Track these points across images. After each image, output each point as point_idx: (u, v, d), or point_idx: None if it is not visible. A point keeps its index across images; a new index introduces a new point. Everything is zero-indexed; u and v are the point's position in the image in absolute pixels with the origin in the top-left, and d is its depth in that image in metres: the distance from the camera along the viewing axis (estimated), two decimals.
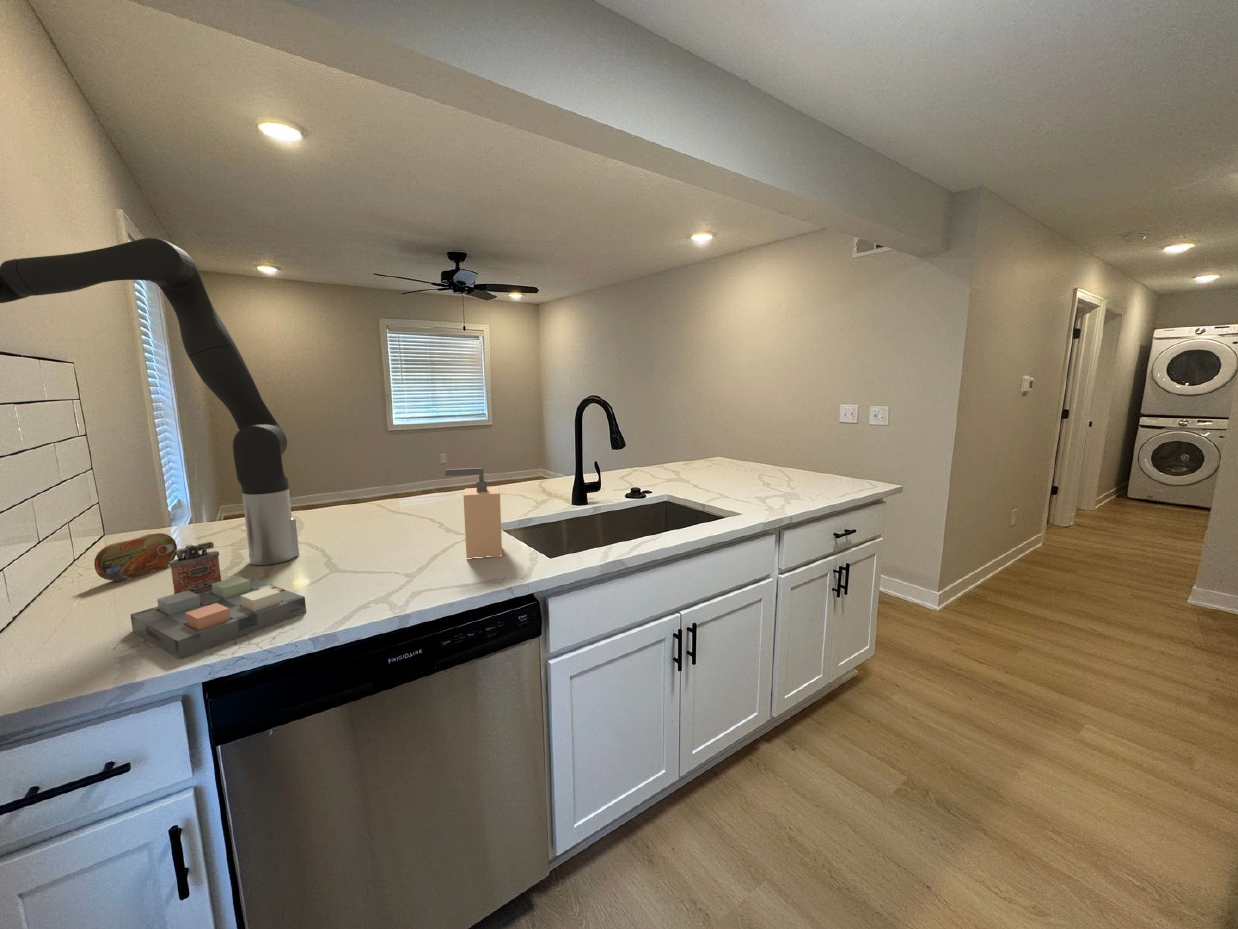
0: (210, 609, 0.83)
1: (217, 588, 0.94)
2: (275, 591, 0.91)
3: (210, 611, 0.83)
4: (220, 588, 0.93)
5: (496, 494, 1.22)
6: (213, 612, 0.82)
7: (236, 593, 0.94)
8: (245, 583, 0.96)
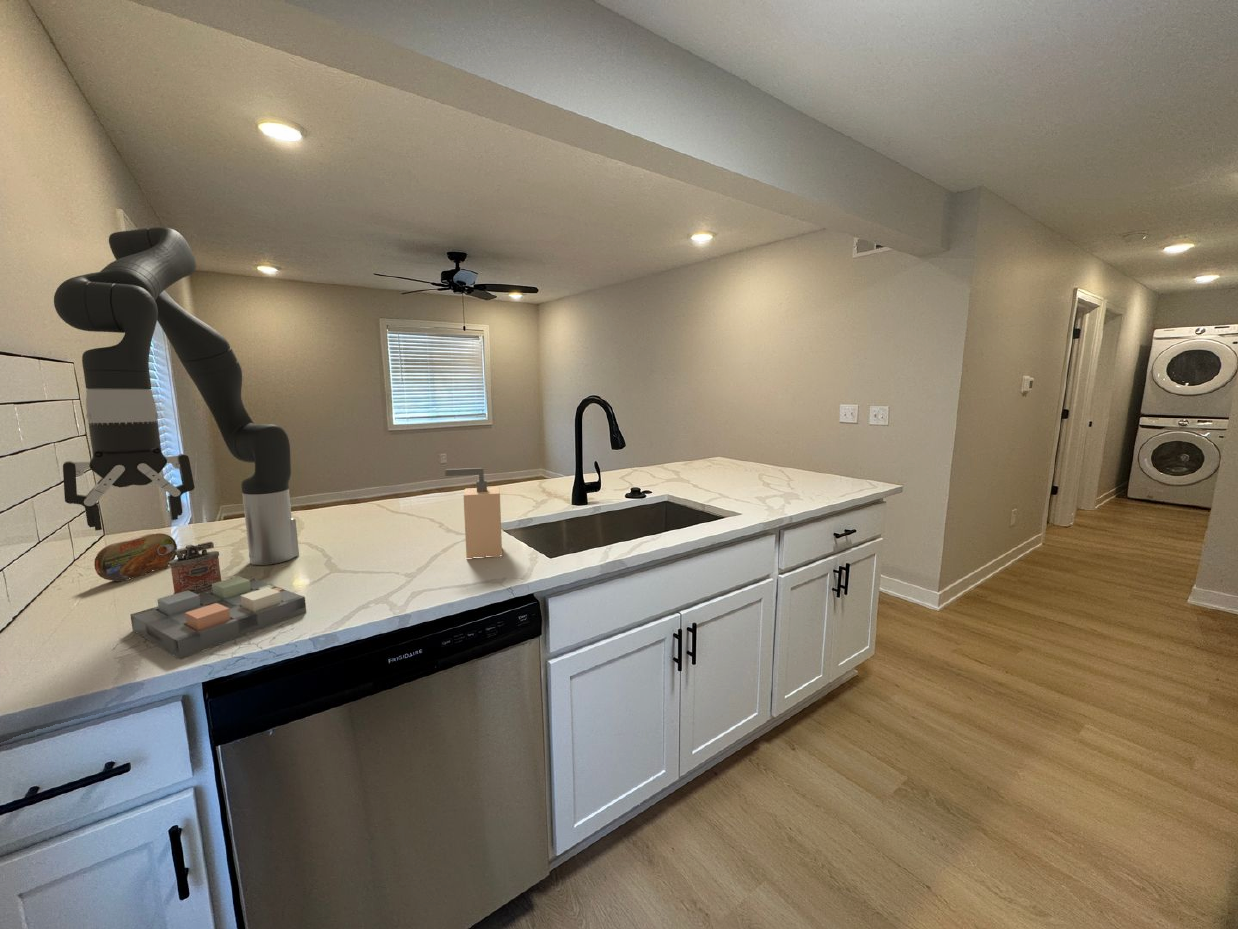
0: (210, 609, 0.83)
1: (217, 588, 0.94)
2: (275, 591, 0.91)
3: (210, 611, 0.83)
4: (220, 588, 0.93)
5: (496, 494, 1.22)
6: (213, 612, 0.82)
7: (236, 593, 0.94)
8: (245, 583, 0.96)
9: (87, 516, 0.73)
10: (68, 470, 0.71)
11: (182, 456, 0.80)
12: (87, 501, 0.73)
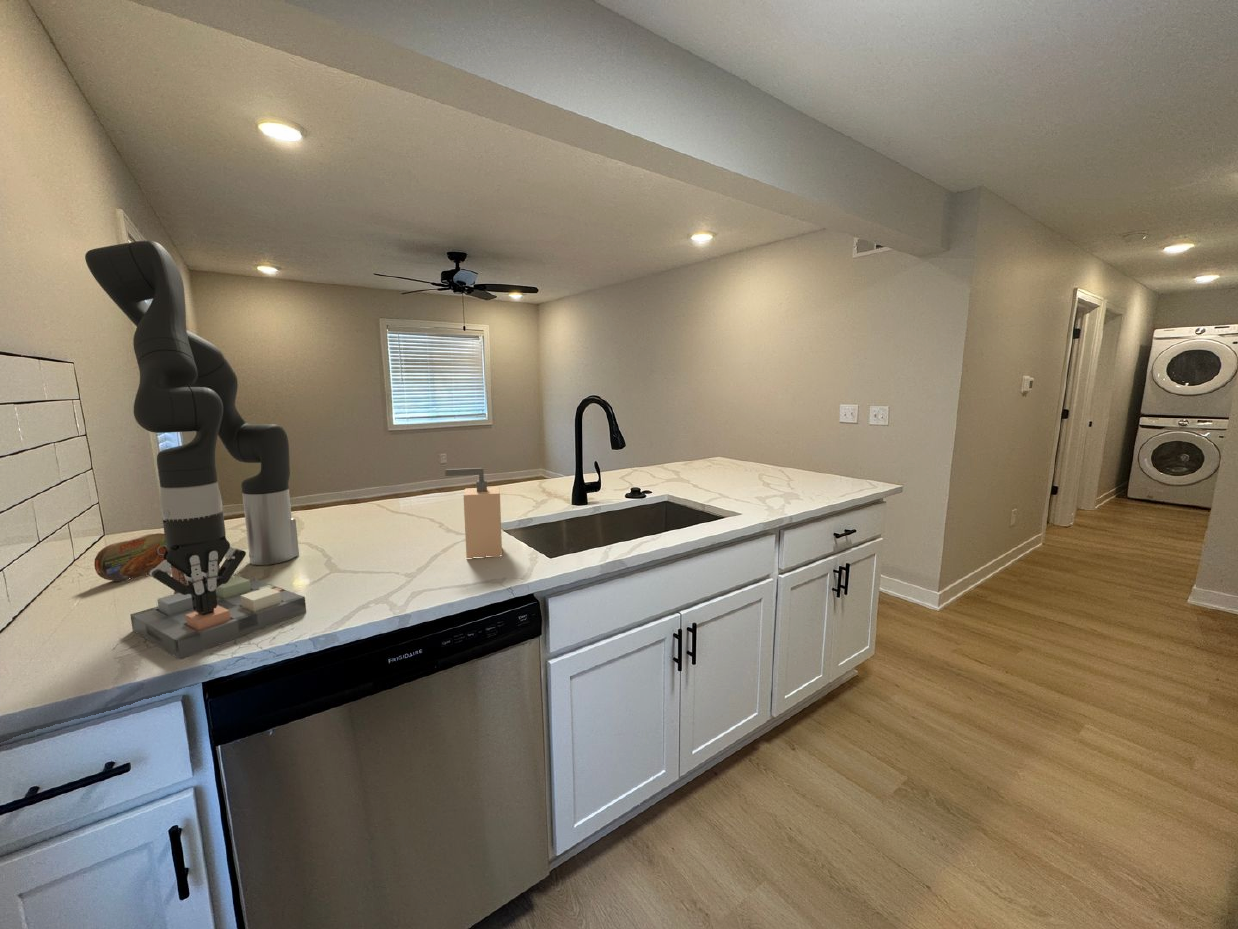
0: None
1: (217, 588, 0.94)
2: (275, 591, 0.91)
3: (211, 614, 0.83)
4: (220, 588, 0.93)
5: (496, 494, 1.22)
6: (213, 614, 0.83)
7: (236, 593, 0.94)
8: (245, 583, 0.96)
9: (196, 603, 0.81)
10: (161, 577, 0.77)
11: (242, 552, 0.86)
12: (198, 590, 0.81)
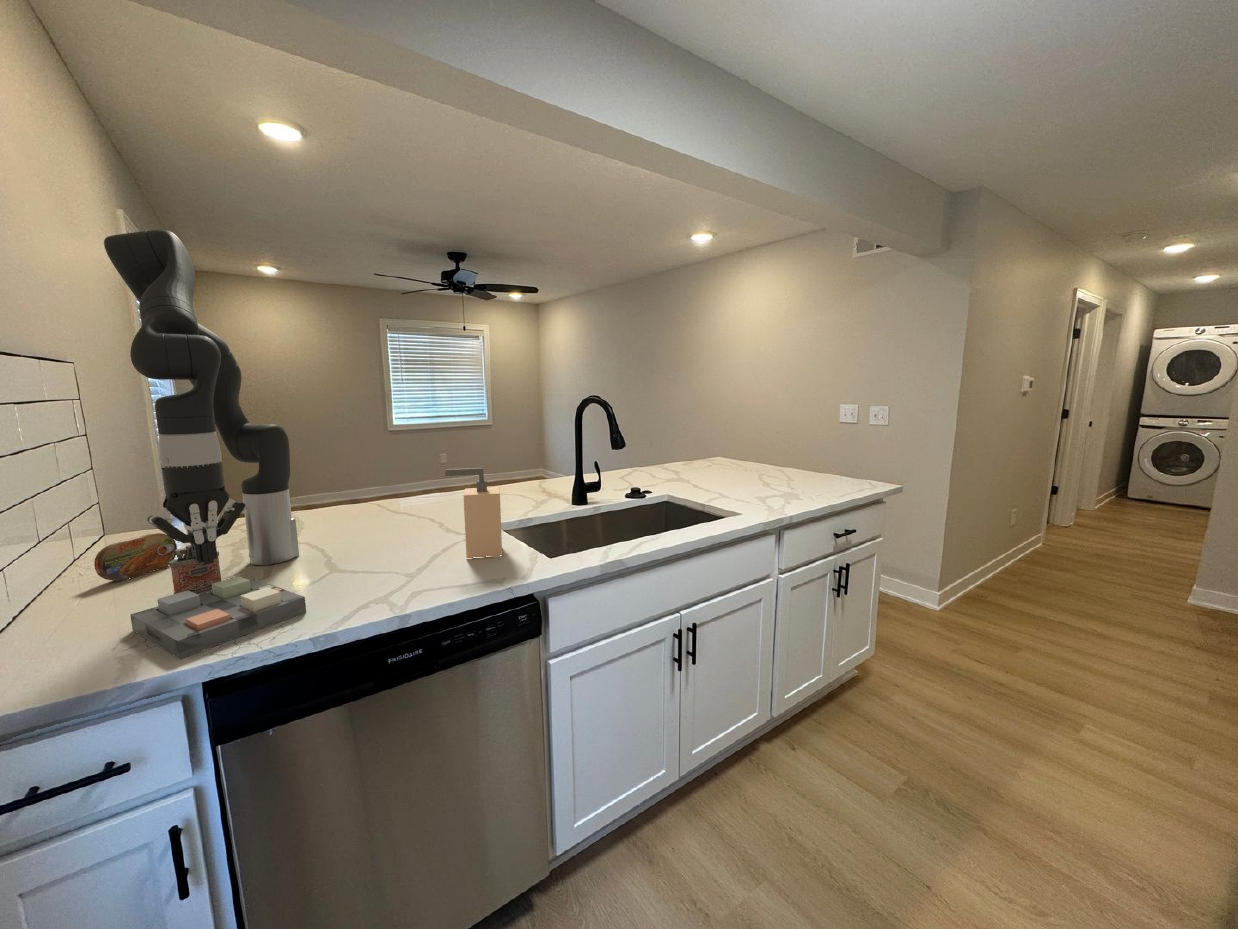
0: (210, 615, 0.84)
1: (217, 588, 0.94)
2: (275, 591, 0.91)
3: (211, 618, 0.83)
4: (220, 588, 0.93)
5: (496, 494, 1.22)
6: (214, 618, 0.83)
7: (236, 593, 0.94)
8: (245, 583, 0.96)
9: (196, 553, 0.81)
10: (161, 524, 0.77)
11: (241, 503, 0.86)
12: (198, 540, 0.81)
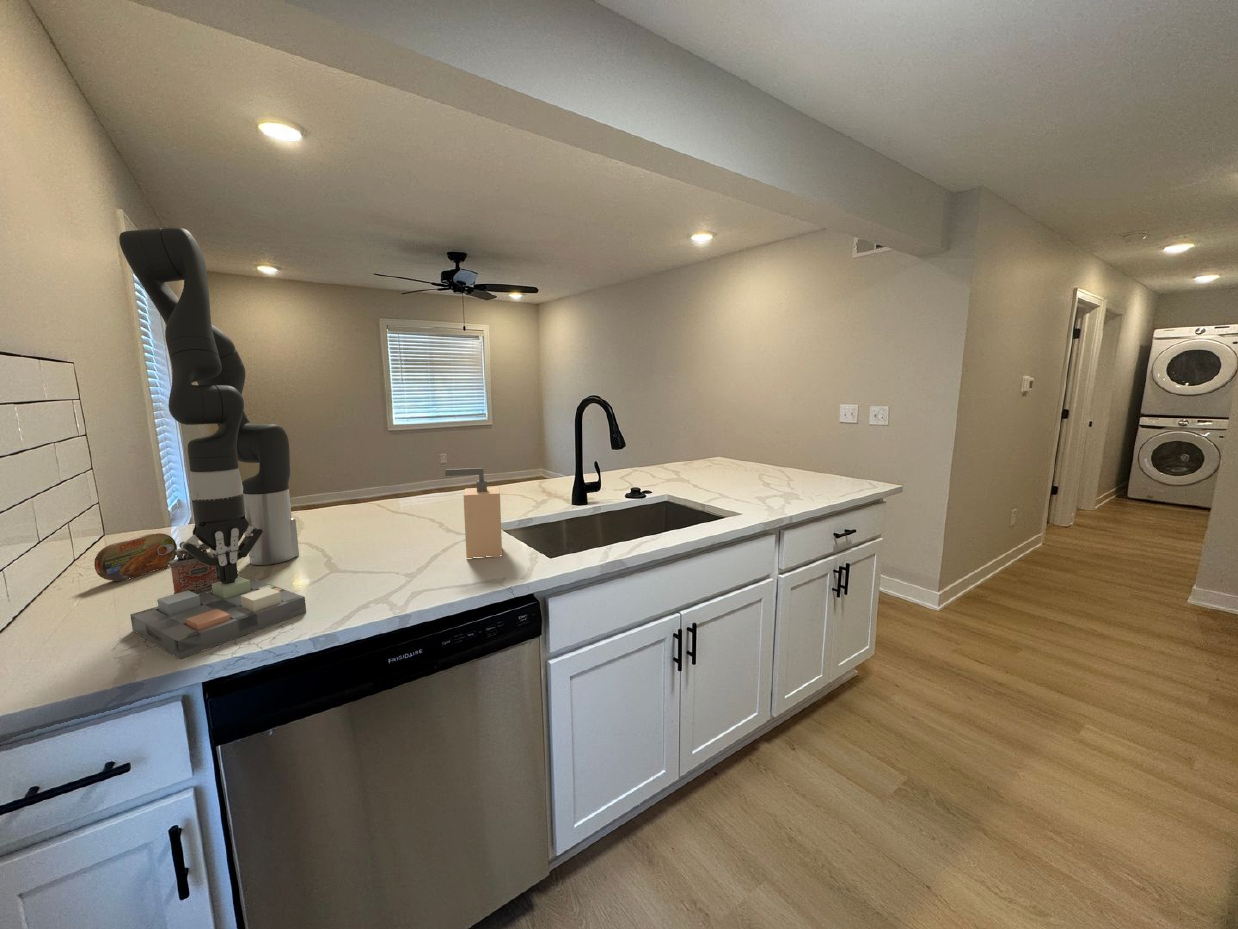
0: (210, 615, 0.84)
1: (217, 588, 0.94)
2: (275, 591, 0.91)
3: (211, 618, 0.83)
4: (220, 588, 0.93)
5: (496, 494, 1.22)
6: (214, 618, 0.83)
7: (236, 593, 0.94)
8: (245, 583, 0.96)
9: (220, 574, 0.93)
10: (191, 549, 0.89)
11: (259, 530, 0.98)
12: (221, 562, 0.93)
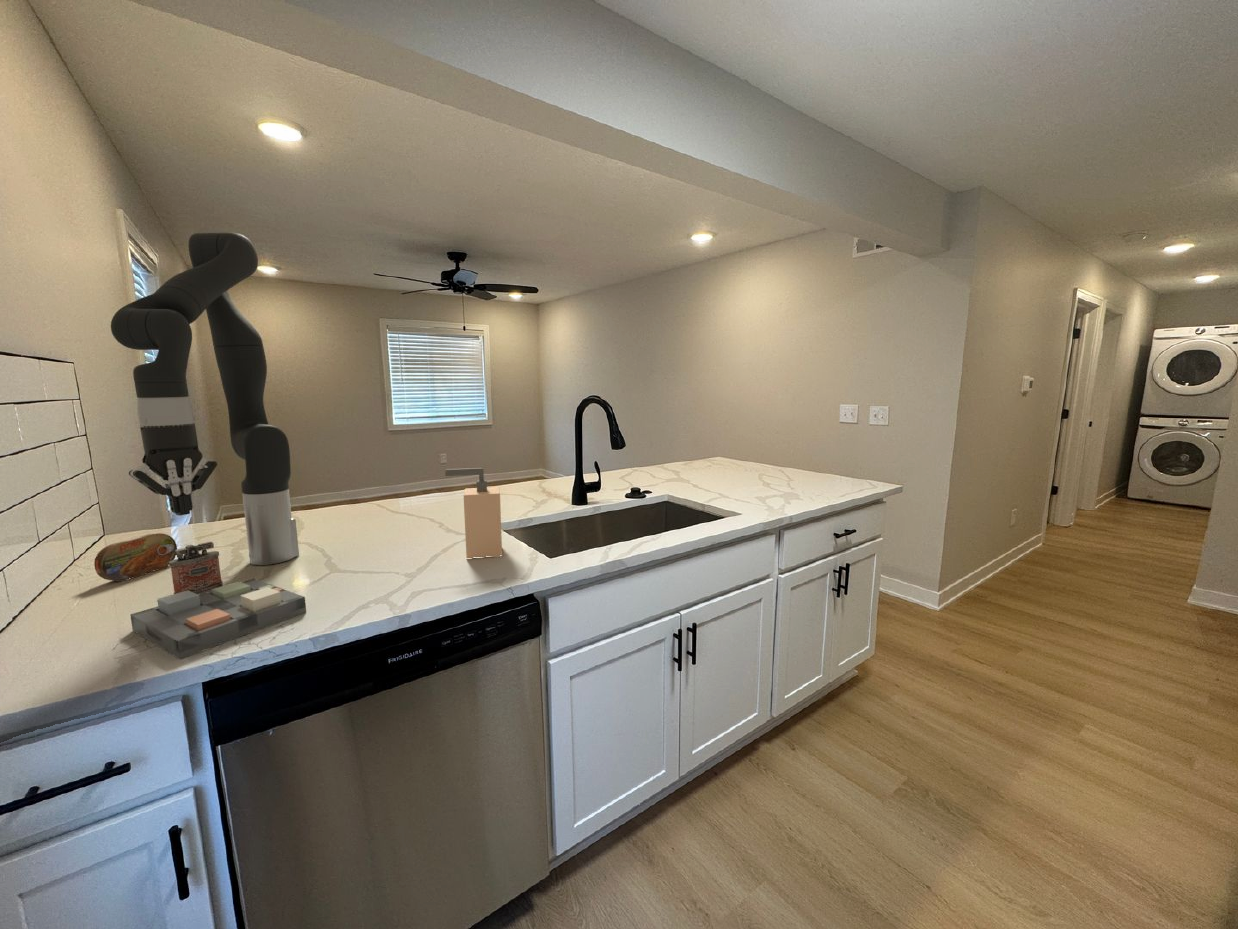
0: (210, 615, 0.84)
1: (217, 594, 0.94)
2: (275, 591, 0.91)
3: (211, 618, 0.83)
4: (221, 593, 0.93)
5: (496, 494, 1.22)
6: (214, 618, 0.83)
7: None
8: (246, 588, 0.96)
9: (174, 504, 0.92)
10: (141, 476, 0.87)
11: (214, 462, 0.97)
12: (175, 492, 0.92)
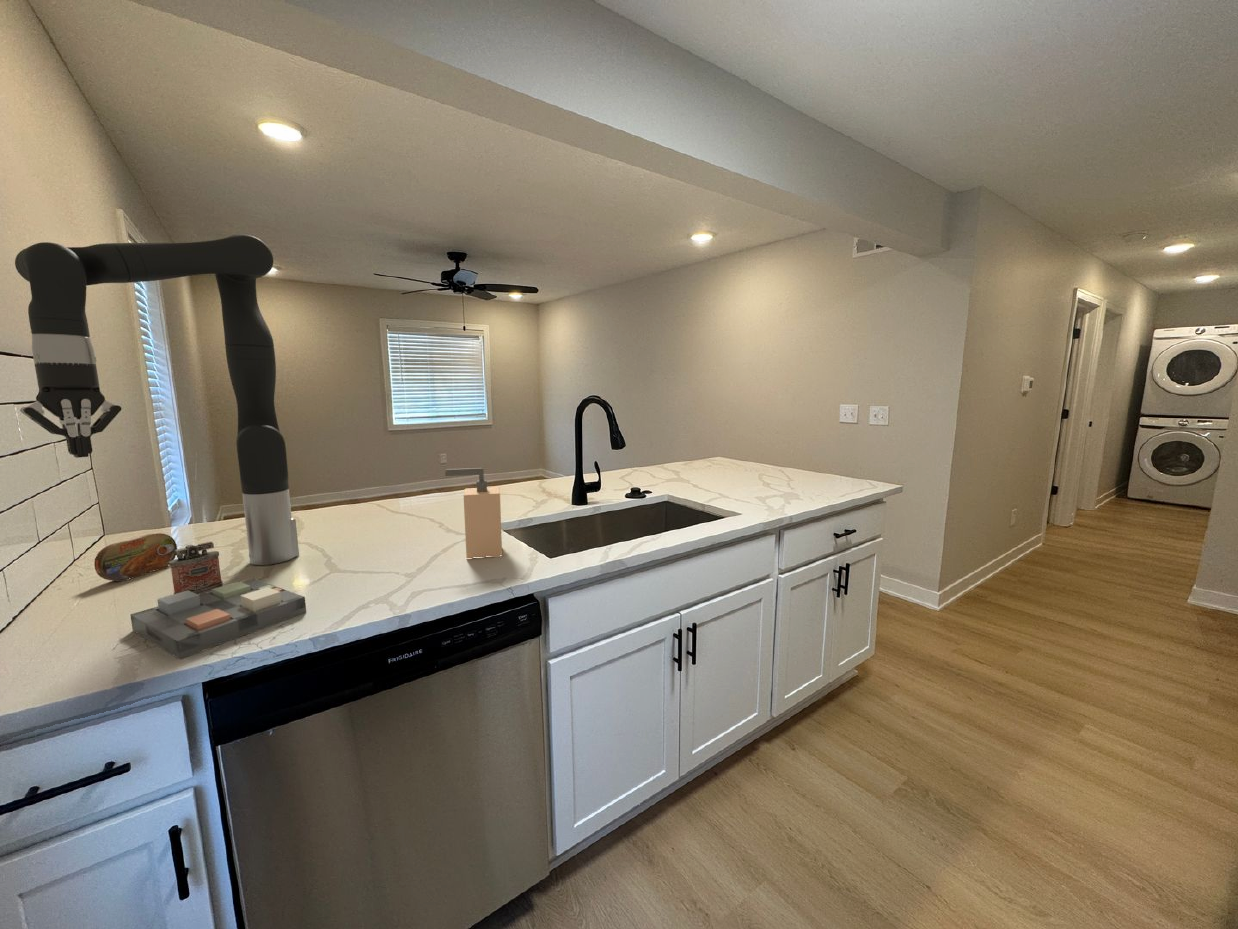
0: (210, 615, 0.84)
1: (217, 594, 0.94)
2: (275, 591, 0.91)
3: (211, 618, 0.83)
4: (221, 593, 0.93)
5: (496, 494, 1.22)
6: (214, 618, 0.83)
7: None
8: (246, 588, 0.96)
9: (70, 445, 0.91)
10: (32, 413, 0.86)
11: (117, 406, 0.95)
12: (71, 433, 0.90)
